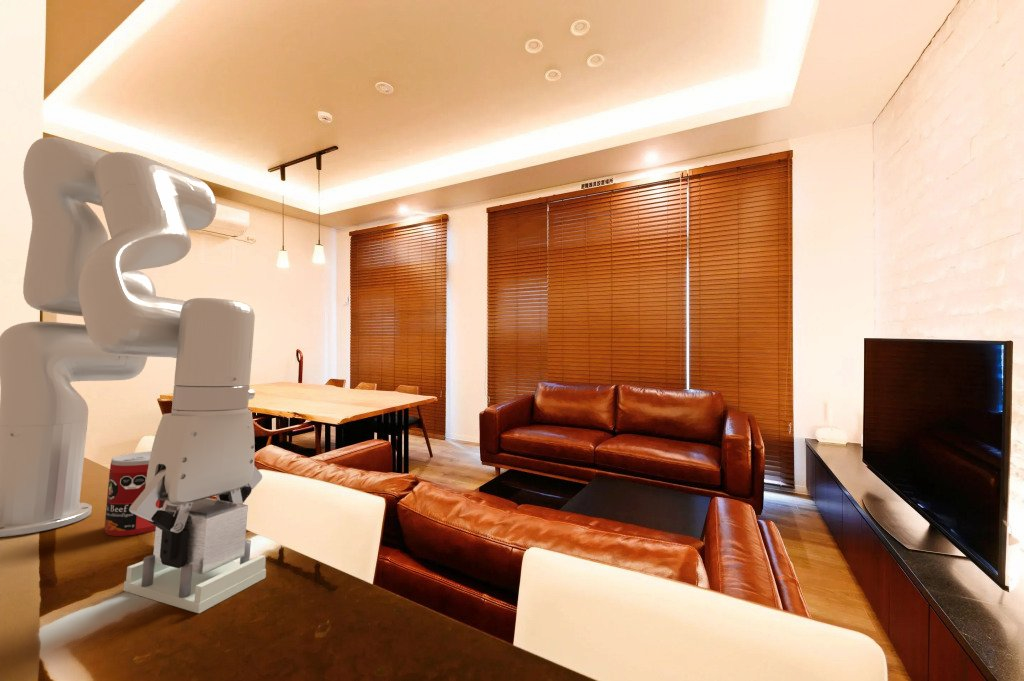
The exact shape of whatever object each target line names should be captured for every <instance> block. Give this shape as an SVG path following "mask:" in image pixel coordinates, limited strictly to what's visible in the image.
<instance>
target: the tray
mask: <svg viewBox="0 0 1024 681" xmlns="http://www.w3.org/2000/svg"><path fill="white" fill-rule="evenodd" d="M251 543H252V541H251V539H245V551H244V556H242V557H240V558H239V561H238V562H237V561H235V560H234V561H231V562H229V563H227V564H225V565H223V566H220V567H218V568H216V569H214V570H212V571H209V572H207V573H205V574H203V575H201V574H197V573H194V572H192V569H193V565H185V566H183V567H181V569H178V568H174V567H171V566H167V565H163V564H159V563H155V555H153V554H150V555H147V556H146V555H145V557H144V558H143V560H142V561H139V562H137V563H135V564H132V565H128V566H127V567H126V575H125V576H126V579H125V580H124V582H123V591H124V592H126V593H130V594H132V595H137V596H141V597H142V598H146V599H150V600H152V601H157V602H160V603H162V604H166V605H170V606H173V607H176V608H179V609H183V610H186V611H189V612H193V613H196V614H201V613H202V612H204V611H206V610H208V609H211V607H215V605H218V604H219V603H221V602H223V601H225V600H227V599H228V598H231V597H232V596H234V595H237V594H238V593H240V592H242V591H243V590H246V589H247V588H249V587H252V586H253V585H255V584H256V583H258V582H261V581H262V580H264V579H265V578H267V577H266V576H267V569H266V561H267V560H266V559H267V556H266V555H262V554H259V555H258V556H256V557H254V558H251V559H250V557H251V547H252V546H251V545H252V544H251Z"/></svg>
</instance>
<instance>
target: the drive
mask: <svg viewBox="0 0 1024 681" xmlns="http://www.w3.org/2000/svg"><path fill="white" fill-rule="evenodd" d="M159 509H161V510H162V508H159ZM176 509H177V508H176ZM248 509H249V505H248V504H244V503H243V504H238V503H233V502H227V501H222V500H217V498H215V499H214V498H211V497H209V498H206V499H202V500H198V501H195V502H193V504H192V506H191V509H190V512H189V515H188V518H187V521H186V523H185V526H184V529H186V530H189V538H188V550H187V562H186V565H193V569H192V572H194V573H197V574H201V575H203V574H205V573H207V572H209V571H212V570H214V569H216V568H218V567H220V566H223V565H225V564H227V563H229V562H231V561H234V562H235V561H237V559H240V557H242V556H244V551H245V540H246V539H247V538H246V536H247V521H248V511H249V510H248ZM175 512H176V511H175ZM174 515H175V513H174ZM173 517H174V516H173ZM154 532H155V533H154V544H153V554H152V555H155V563H159V564H162V562H161V558H160V548H161V537H162V530H161V529H158V528H157V527H156V530H155V531H154ZM163 565H164V564H163ZM167 566H168V565H167ZM171 567H172V566H171ZM174 568H175V567H174ZM178 569H181V568H178Z"/></svg>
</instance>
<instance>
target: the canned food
mask: <svg viewBox="0 0 1024 681" xmlns="http://www.w3.org/2000/svg"><path fill="white" fill-rule="evenodd" d="M150 456H151V451H141V452H133V453H132V452H131V453H126V454H122V455H117V456H115V457H112V458H111V462H110V467H109V472H108V473H109V475H108V486H107V498H106V507H105V518H104V531H105V533H106V534H107V535H108V536H112V537H127V536H135V535H142V534H146V533H150V532H155V531H156V526H155V525H153V524H152V523H150V522H149V521H147V520H146V519H144V518H142V517H139V516H137V515H135V514H133V513H131V512H130V511H129V508H130V506H131V505H132V504H133V503H134V501H135V500H136V499H137V498H138V496H139V495H140V494H141V493H142V492H143V490H144V489H145V486H146V478H147V471H148V466H149V460H150ZM165 500H166V499H164V500H158V501H156V504H155V505H156V507H157V508H163V505H164V502H165Z"/></svg>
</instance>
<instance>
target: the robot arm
mask: <svg viewBox="0 0 1024 681" xmlns="http://www.w3.org/2000/svg"><path fill="white" fill-rule="evenodd" d="M23 163H24V164H23V171H22V173H23V174H22V175H23V184H24V189H25V190H24V191H25V194H26V197H27V201H28V205H29V208H30V214H31V215H30V216H31V219H32V220H31V232H30V239H29V244H28V250H27V257H26V263H25V270H24V277H23V286H22V288H23V291H22V292H23V299H24V301H25V303H26V304H27V305H29V307H30V308H33V309H35V310H37V311H40V312H45V313H51V314H58V315H64V316H65V315H67V316H73V317H74V316H75V317H82V318H83V322H84V324H80V323H69V322H60V321H59V322H57V321H56V322H54V321H29V322H28V321H27V322H22V323H17V324H15V325H12V326H10V327H8V328H7V329H6V330H5V329H4V331H3V332H2V333H1V335H0V538H2V537H3V538H5V537H14V536H21V535H26V534H33V533H39V532H40V533H41V532H44V531H49V530H53V529H56V528H61V527H64V526H68V525H70V524H74V523H76V522H79V521H81V520H85V518H87V517H89V516H90V515H91V514H92V509H93V506H92V504H90V503H86V502H80V499H81V492H82V491H81V490H82V480H83V469H84V460H85V453H86V452H85V451H86V440H87V430H88V421H89V420H88V419H89V407H88V403H87V402H86V400H85V398H83V396H82V395H81V394H80V392H78V391H77V390H76V389H75V388H74V387H73V386H72V384H71V383H73V382H99V381H100V382H104V381H105V382H109V381H110V382H111V381H126V380H131V379H134V378H136V377H137V376H138V375H140V374H141V373H142V372H143V370H144V368H145V366H146V363H147V361H148V357H150V358H151V357H152V358H155V357H156V358H173V359H176V361H175V371H174V382H173V389H172V390H173V392H172V404H171V405H172V406H171V412H169V413H163V415H162V416H161V418H160V422H159V424H158V427H157V431H156V434H155V436H154V440H153V443H152V447H151V451H150V452H151V456H150V460H149V466H148V471H147V478H146V486H145V489H144V490H143V492H142V493H141V494H140V495H139V496H138V498H137V499H136V500H135V501H134V503H133V504H132V505H131V506H130V508H129V511H130V512H131V513H133V514H135V515H137V516H139V517H142V518H144V519H146V520H147V521H149V522H150V523H152V524H153V525H155V526H156V527H157V528H158V529H161V530H162V537H161V548H160V558H161V562H162V564H164V565H168V566H172V567H175V568H181V567H183V566H185V565H186V562H187V550H188V538H189V530H186V529H184V526H185V523H186V521H187V518H188V515H189V512H190V509H191V506H192V504H193V502H195V501H198V500H202V499H206V498H212V497H215V496H216V500H222V501H227V502H233V503H238V504H244V503H245V501H246V500H247V498H249V496H250V495H251V494H252V492H253V491H252V490H254V489H255V488H256V487H257V485H258V484H259V483H260V482H261V481H262V479H263V474H262V473H261V472H260V471H259V469H258V468H257V466H255V456H256V455H255V454H256V452H255V451H256V449H255V444H256V442H255V427H254V419H253V414H252V410H250V409H249V400H253V399H254V398H255V395H256V393H255V391H254V390H253V389H250V385H251V384H250V383H251V371H252V361H253V360H252V358H253V346H254V332H255V322H256V316H255V315H256V314H255V312H254V308H253V307H252V306H250V305H249V304H247V303H244V302H241V301H237V300H231V299H226V298H214V297H213V298H212V297H195V298H194V297H193V298H191V299H188V300H183V299H177V298H169V297H164V296H163V297H162V296H157V292H156V288H155V284H154V282H153V281H152V279H151V278H150V276H148V275H147V274H146V273H144V272H142V271H140V270H146V269H148V270H149V269H154V268H155V269H156V268H160V267H166V266H170V265H173V264H174V263H177V262H179V261H181V260H182V259H184V258H185V257H186V256H187V255H188V254H189V253H190V250H191V248H192V239H191V236H190V234H189V231H188V230H190V231H201V230H204V229H206V228H208V227H209V226H210V225H211V224H212V222H213V221H214V220H215V217H216V213H217V201H216V196H215V194H214V192H213V190H212V189H211V188H210V186H209V185H208V184H207V183H205V182H204V181H203V180H202V179H200V178H198V177H196V176H193V175H192V174H189V173H186V172H183V171H181V170H179V169H176V168H173V167H171V166H169V165H166V164H164V163H161V162H158V161H156V160H154V159H151V158H149V157H146V156H143V155H140V154H137V153H132V152H128V151H127V152H124V151H114V152H113V151H112V152H107V151H104V150H101V149H98V148H95V147H93V146H91V145H87V144H84V143H81V142H79V141H75V140H71V139H66V138H64V137H63V138H62V137H55V136H49V137H48V136H47V137H42V138H39V139H37V140H36V141H34V142H33V143H32V144H31V145H30V147H29V148H28V150H27V153H26V155H25V158H24V162H23ZM87 203H89V204H93V205H95V206H100V207H102V211H103V214H104V217H105V223H106V225H107V229H106V228H105V225H104V224H103V222H102V221H101V220H100V218H99V216H98V215H97V213H96V212H95V211H94V210H93V209H92V208H91V206H90V205H89V204H87ZM107 230H108V232H109V235H110V237H111V238H110V239H109V235H108V232H107ZM164 499H166V500H165V502H164V505H163V508H162V510H161V509H159V508H157V507H156V505H155V504H156V501H158V500H164ZM176 508H177V509H176ZM175 511H176V512H175ZM174 513H175V515H174ZM173 516H174V517H173Z"/></svg>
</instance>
